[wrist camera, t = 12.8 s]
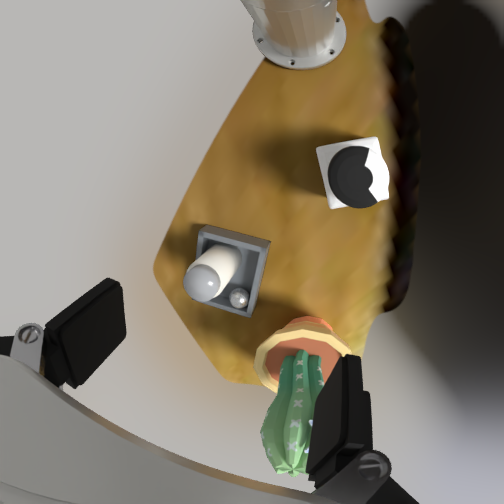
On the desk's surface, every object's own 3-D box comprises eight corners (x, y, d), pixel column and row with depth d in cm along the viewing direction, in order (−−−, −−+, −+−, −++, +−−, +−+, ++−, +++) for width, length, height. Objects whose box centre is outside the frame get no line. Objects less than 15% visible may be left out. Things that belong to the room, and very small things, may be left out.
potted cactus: (349, 368, 46) (346, 491, 24) (268, 367, 50) (230, 482, 28) (355, 297, 41) (369, 439, 19) (258, 298, 45) (201, 427, 23)
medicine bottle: (328, 198, 37) (330, 221, 26) (316, 147, 35) (314, 147, 24) (378, 189, 35) (401, 209, 24) (367, 137, 32) (387, 134, 22)
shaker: (212, 236, 42) (182, 260, 33) (245, 245, 42) (222, 273, 33) (207, 267, 44) (179, 296, 35) (238, 276, 44) (216, 309, 35)
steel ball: (234, 281, 44) (227, 291, 41) (253, 287, 44) (248, 297, 41) (231, 298, 46) (225, 308, 43) (249, 303, 45) (244, 314, 42)
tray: (206, 224, 43) (198, 230, 40) (270, 241, 41) (266, 248, 38) (198, 290, 47) (191, 299, 45) (255, 307, 46) (250, 318, 43)
